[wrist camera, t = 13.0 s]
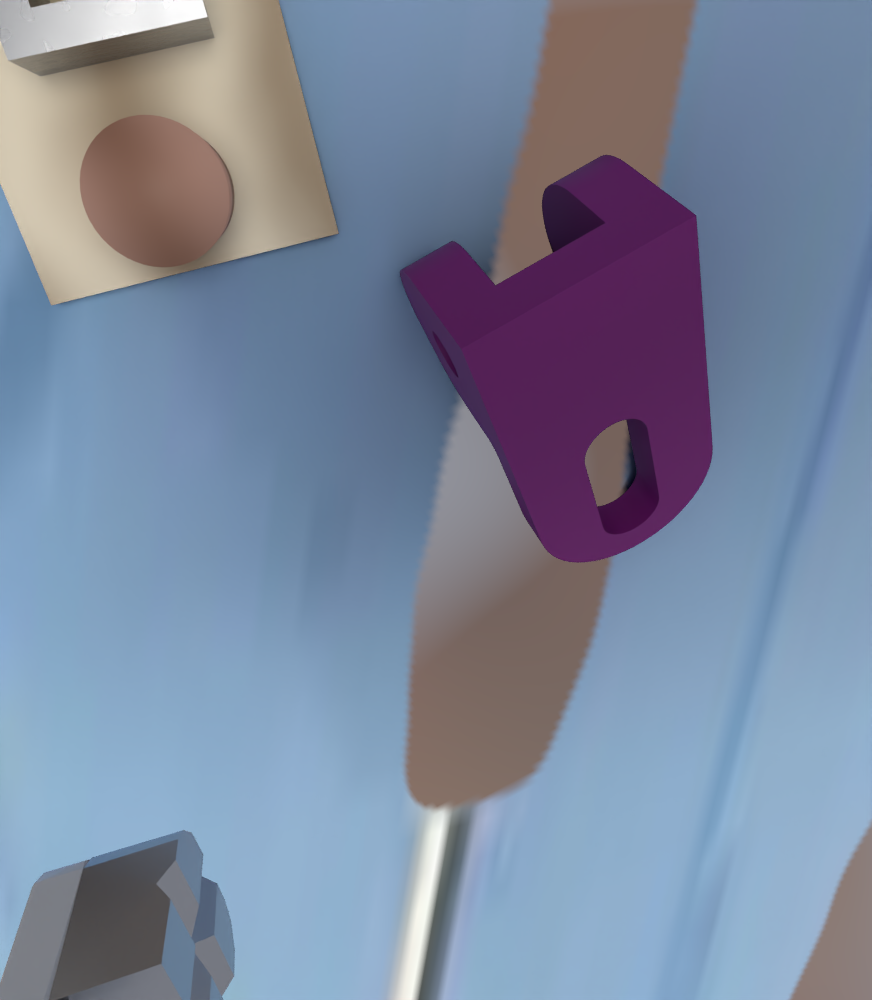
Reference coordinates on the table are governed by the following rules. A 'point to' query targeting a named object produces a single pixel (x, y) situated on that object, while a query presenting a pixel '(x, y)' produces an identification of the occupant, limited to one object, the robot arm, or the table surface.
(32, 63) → the collar
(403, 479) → the table surface
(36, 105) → the post board
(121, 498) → the table surface
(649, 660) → the table surface
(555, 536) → the mounting bracket
